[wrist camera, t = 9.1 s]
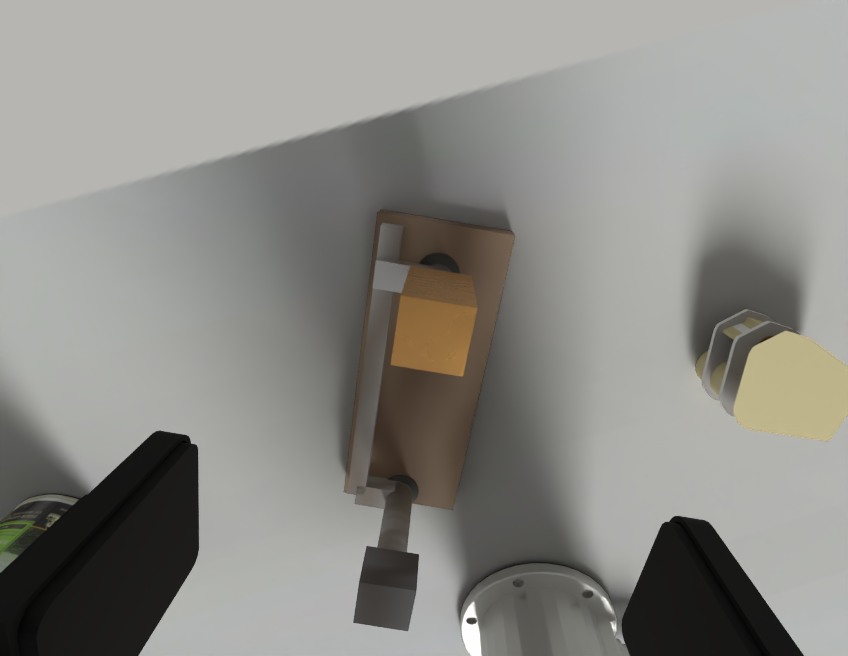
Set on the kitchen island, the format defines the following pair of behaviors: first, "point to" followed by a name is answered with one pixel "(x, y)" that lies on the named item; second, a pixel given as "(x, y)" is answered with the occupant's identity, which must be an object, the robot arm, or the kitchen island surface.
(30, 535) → the coffee can
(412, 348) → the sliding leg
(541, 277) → the kitchen island surface
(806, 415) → the stacked layers on plate
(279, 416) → the kitchen island surface
